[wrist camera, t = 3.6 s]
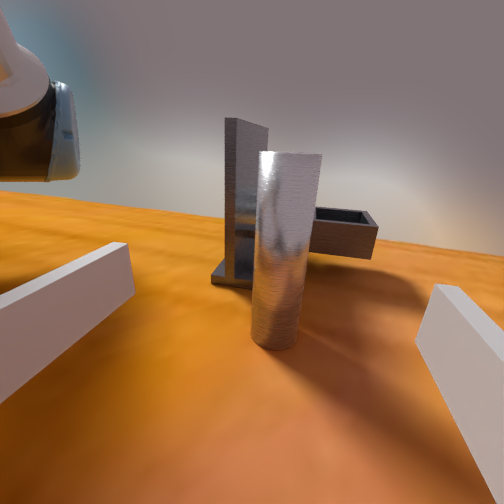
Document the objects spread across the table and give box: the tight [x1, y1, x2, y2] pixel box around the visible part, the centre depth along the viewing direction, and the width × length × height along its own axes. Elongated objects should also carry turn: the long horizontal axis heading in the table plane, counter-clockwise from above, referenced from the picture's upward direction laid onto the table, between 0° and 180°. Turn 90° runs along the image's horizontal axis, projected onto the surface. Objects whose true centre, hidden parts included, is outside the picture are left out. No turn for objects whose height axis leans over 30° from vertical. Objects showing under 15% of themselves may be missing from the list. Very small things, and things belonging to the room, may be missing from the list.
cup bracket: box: [211, 118, 379, 290], centre depth 35 cm, size 19×18×19 cm
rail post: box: [250, 151, 322, 350], centre depth 21 cm, size 4×4×16 cm
